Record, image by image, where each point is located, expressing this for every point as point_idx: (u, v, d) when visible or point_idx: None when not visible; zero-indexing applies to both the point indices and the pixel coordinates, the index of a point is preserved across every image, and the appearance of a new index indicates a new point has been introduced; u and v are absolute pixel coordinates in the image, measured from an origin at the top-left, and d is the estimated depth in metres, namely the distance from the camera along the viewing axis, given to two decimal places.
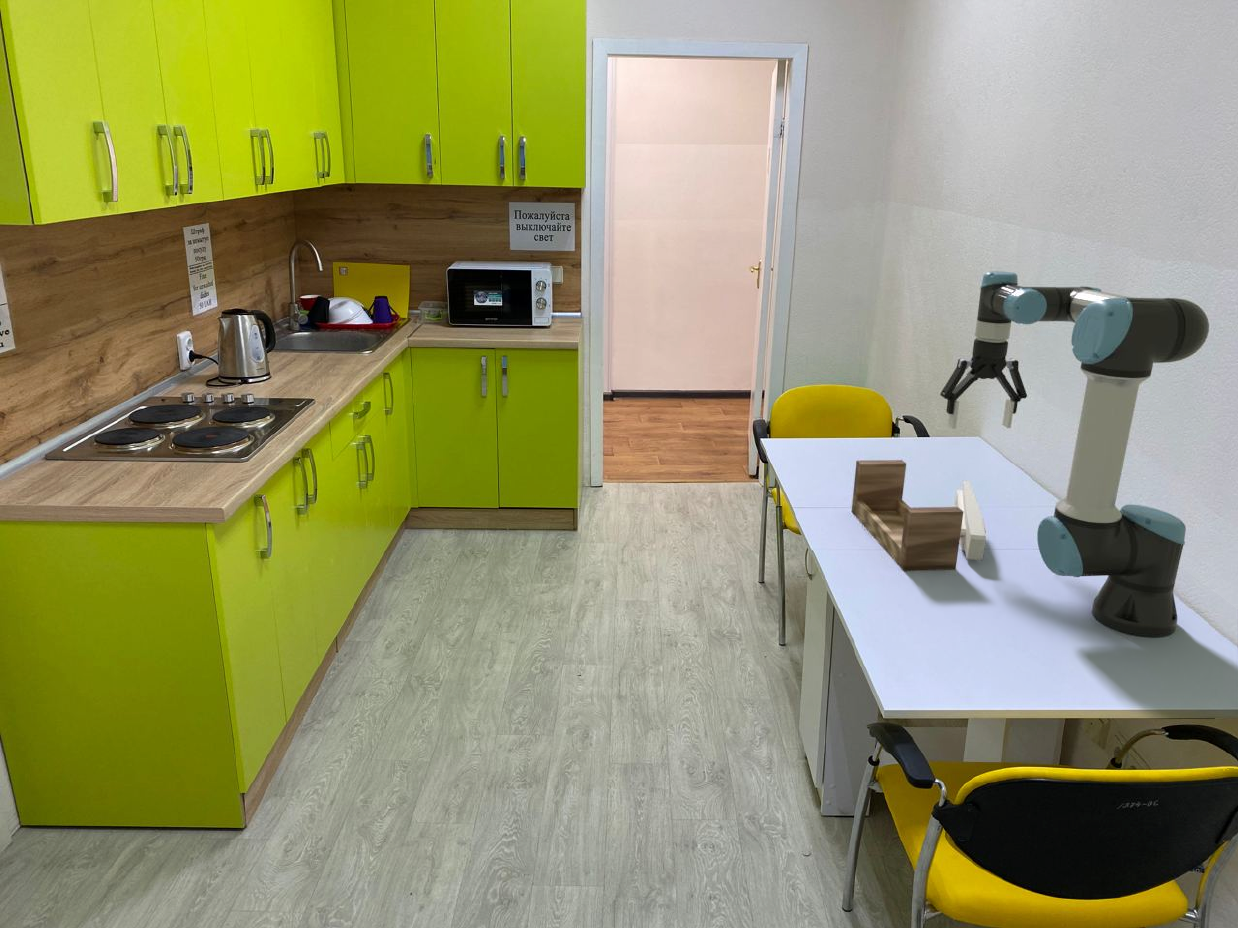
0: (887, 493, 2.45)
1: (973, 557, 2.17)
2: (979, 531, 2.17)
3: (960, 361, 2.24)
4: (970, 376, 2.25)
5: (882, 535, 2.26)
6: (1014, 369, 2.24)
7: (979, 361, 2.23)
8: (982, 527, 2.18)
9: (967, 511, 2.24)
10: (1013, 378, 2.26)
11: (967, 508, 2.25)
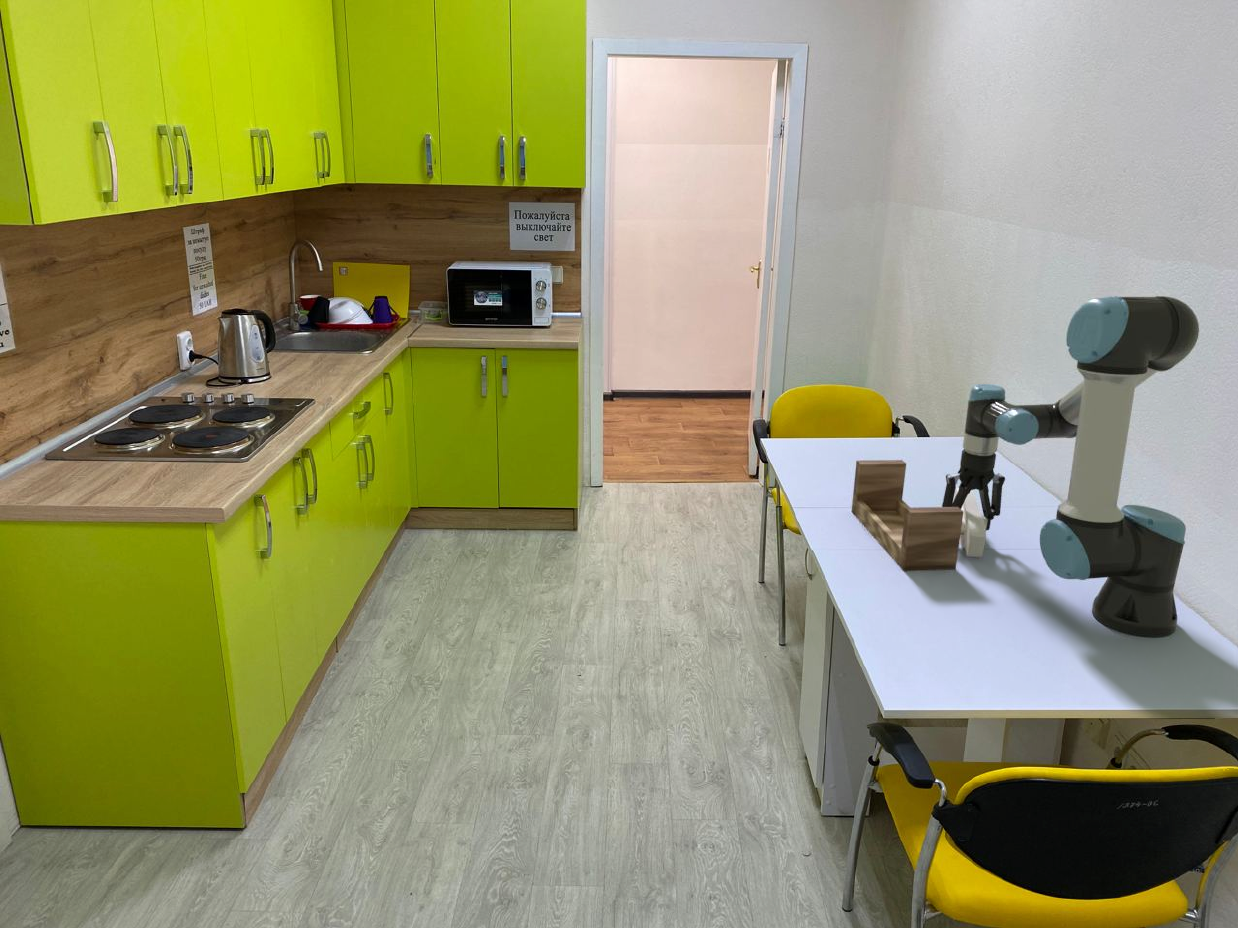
0: (887, 493, 2.45)
1: (973, 554, 2.19)
2: (979, 529, 2.18)
3: (947, 478, 2.24)
4: (962, 490, 2.24)
5: (882, 535, 2.26)
6: (998, 484, 2.24)
7: (966, 472, 2.22)
8: (982, 524, 2.19)
9: (967, 508, 2.25)
10: (993, 493, 2.26)
11: (967, 505, 2.26)
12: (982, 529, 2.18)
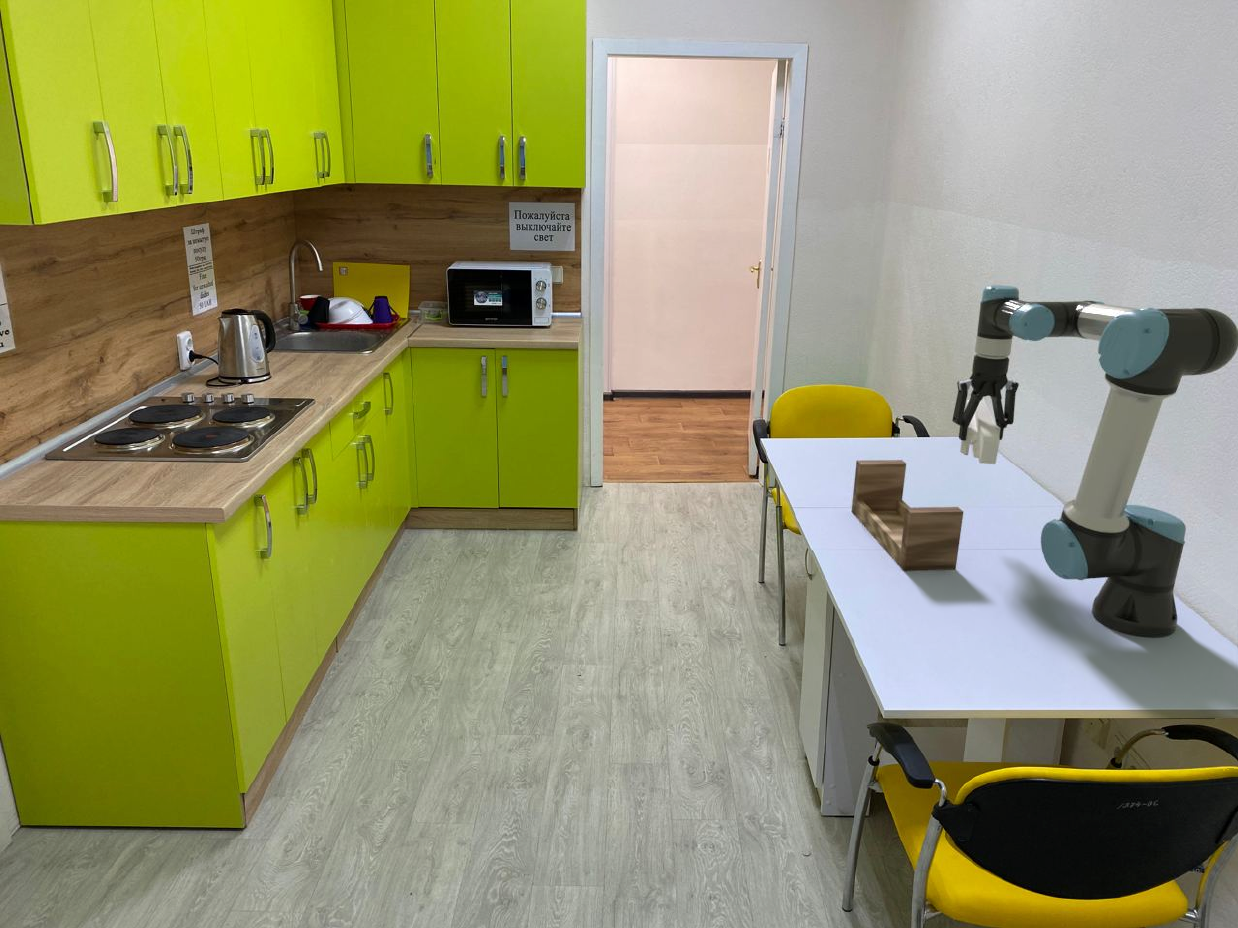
0: (887, 493, 2.45)
1: (986, 461, 2.11)
2: (992, 434, 2.11)
3: (959, 384, 2.17)
4: (974, 397, 2.17)
5: (882, 535, 2.26)
6: (1012, 391, 2.17)
7: (978, 378, 2.15)
8: (995, 430, 2.12)
9: (979, 416, 2.18)
10: (1006, 400, 2.19)
11: (979, 414, 2.19)
12: (995, 434, 2.10)
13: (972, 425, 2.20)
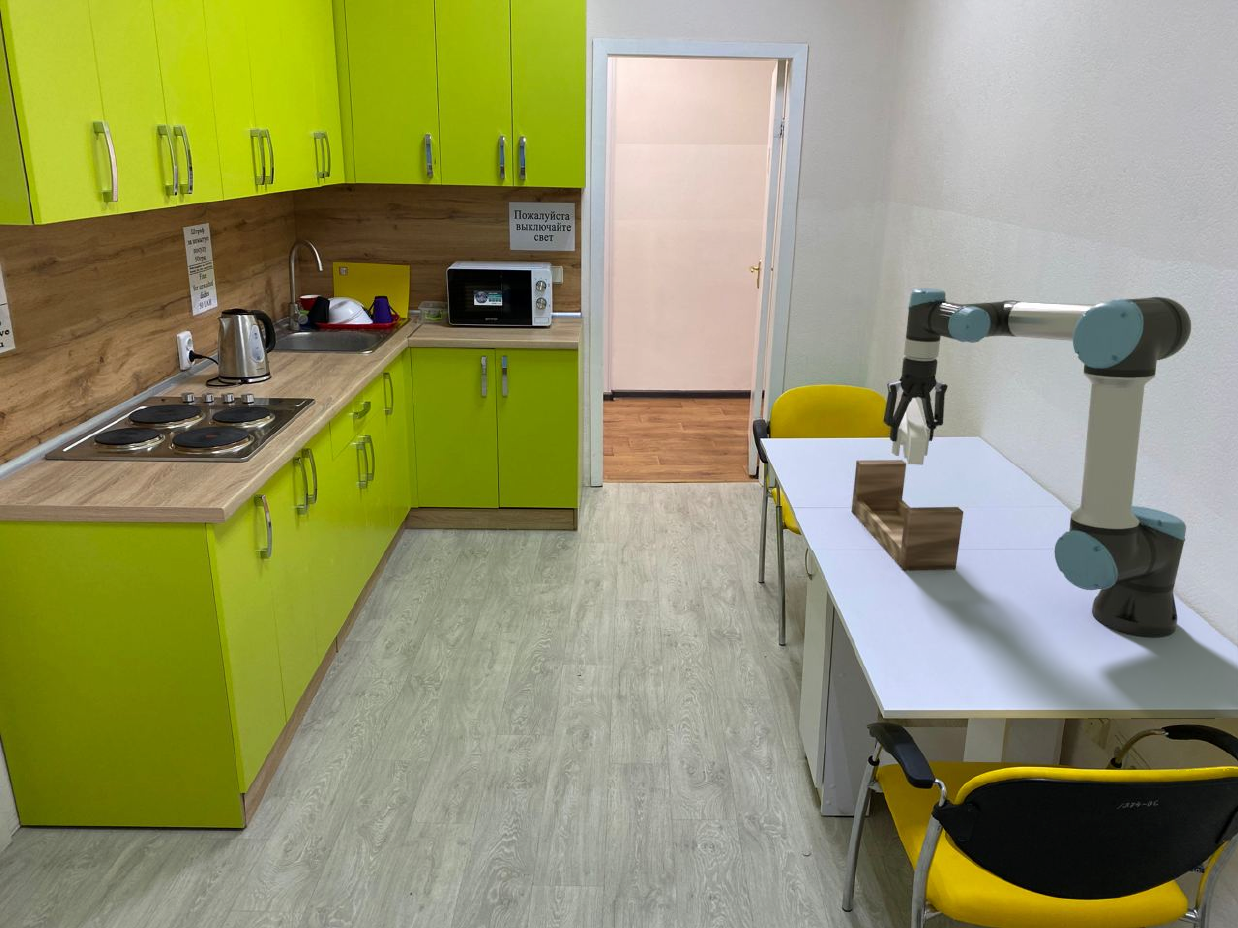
0: (887, 493, 2.45)
1: (914, 461, 2.14)
2: (920, 435, 2.14)
3: (889, 386, 2.19)
4: (904, 398, 2.20)
5: (882, 535, 2.26)
6: (941, 392, 2.20)
7: (907, 379, 2.18)
8: (923, 431, 2.15)
9: (909, 417, 2.21)
10: (936, 402, 2.22)
11: (909, 415, 2.22)
12: (923, 435, 2.13)
13: (902, 426, 2.23)
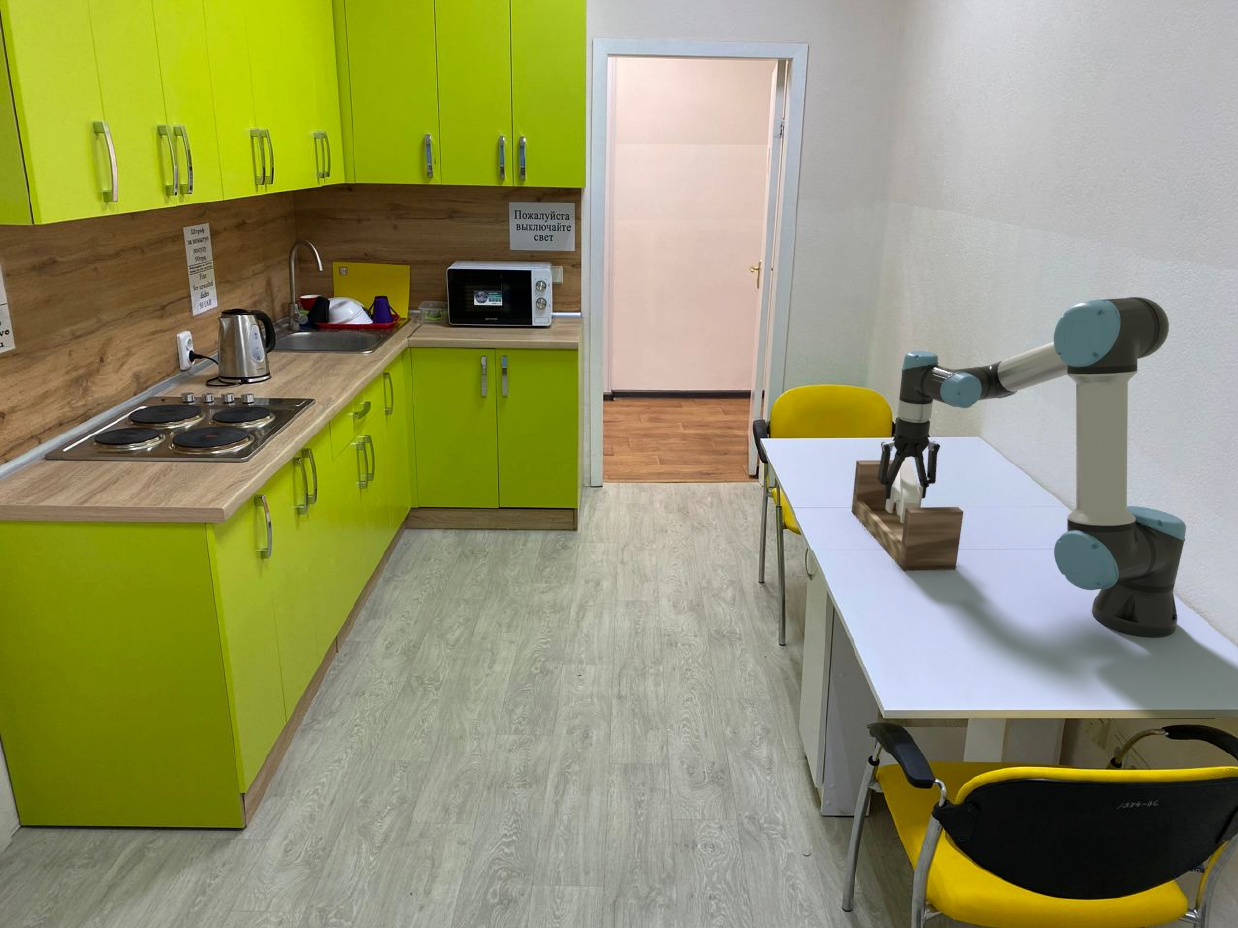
0: None
1: None
2: (913, 495, 2.18)
3: (882, 446, 2.24)
4: (897, 458, 2.25)
5: (882, 535, 2.26)
6: (933, 452, 2.24)
7: (900, 440, 2.23)
8: (916, 491, 2.20)
9: (902, 476, 2.26)
10: (929, 461, 2.26)
11: (902, 473, 2.27)
12: (915, 495, 2.18)
13: (896, 484, 2.27)
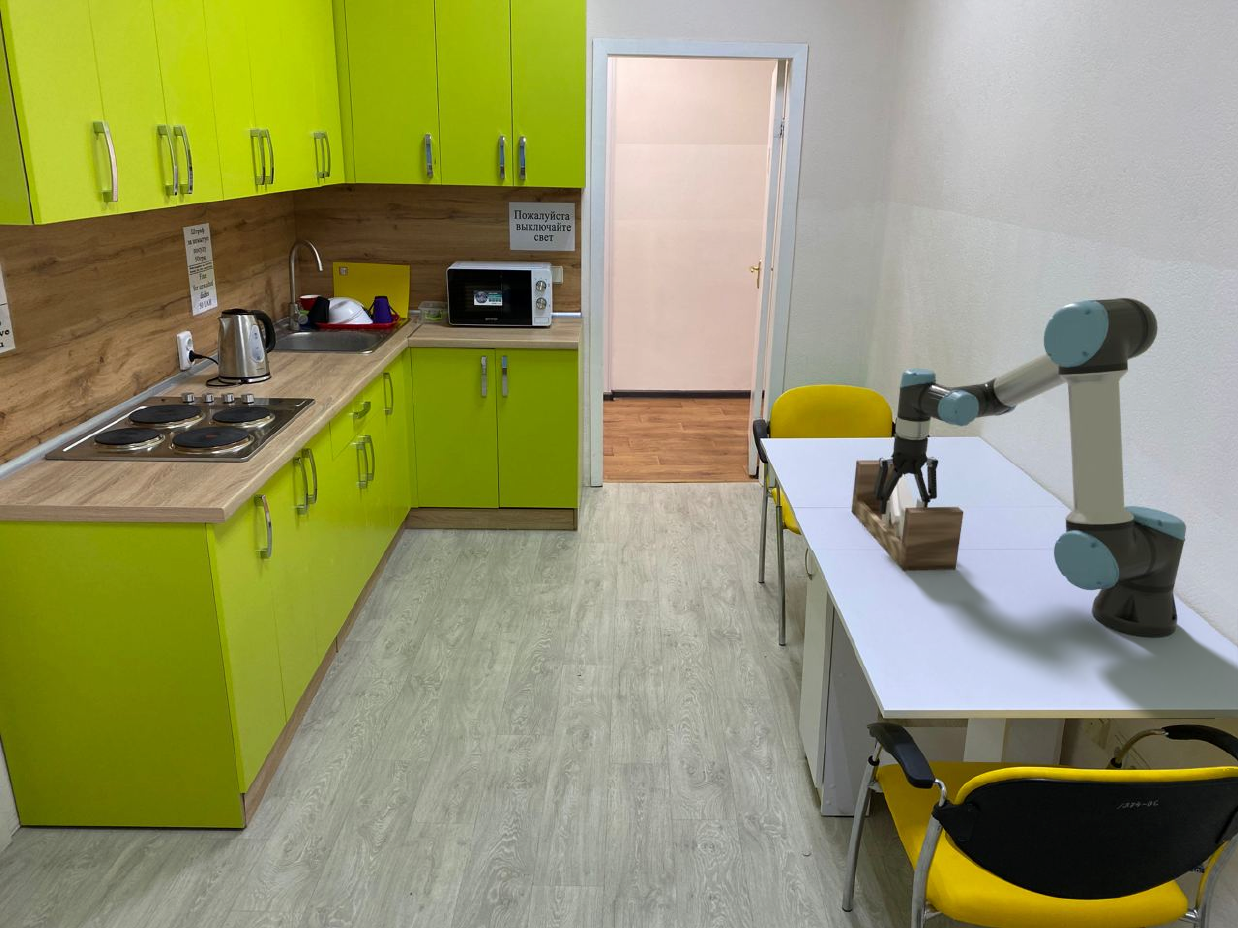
0: None
1: None
2: None
3: (880, 461, 2.25)
4: (895, 474, 2.26)
5: (882, 535, 2.26)
6: (932, 468, 2.25)
7: (899, 456, 2.24)
8: None
9: (900, 498, 2.28)
10: (929, 476, 2.28)
11: (900, 495, 2.29)
12: None
13: (894, 506, 2.29)
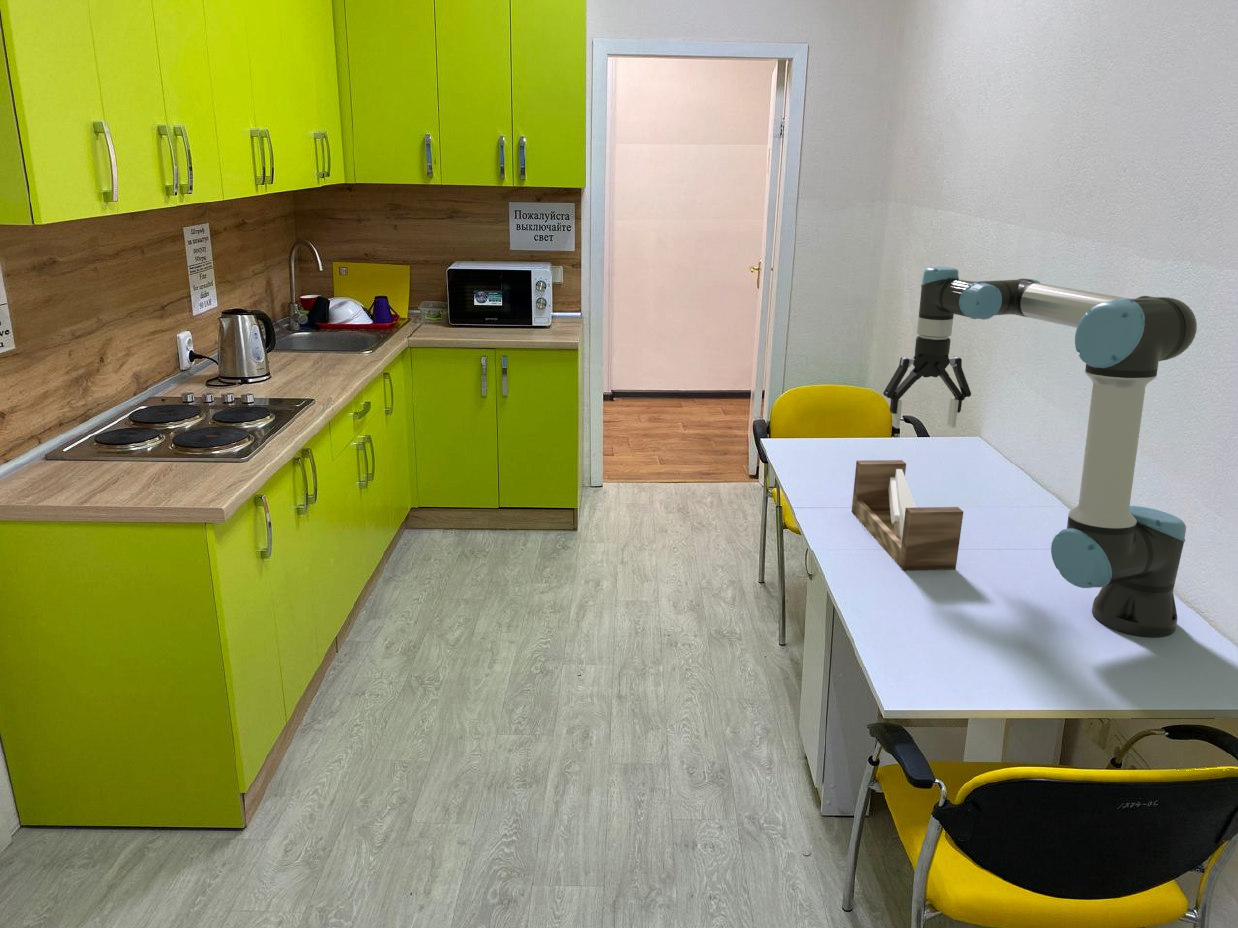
0: (887, 493, 2.45)
1: None
2: None
3: (902, 359, 2.18)
4: (913, 374, 2.19)
5: (882, 535, 2.26)
6: (957, 367, 2.19)
7: (921, 359, 2.18)
8: None
9: (900, 498, 2.28)
10: (957, 376, 2.21)
11: (900, 495, 2.29)
12: None
13: (894, 506, 2.30)
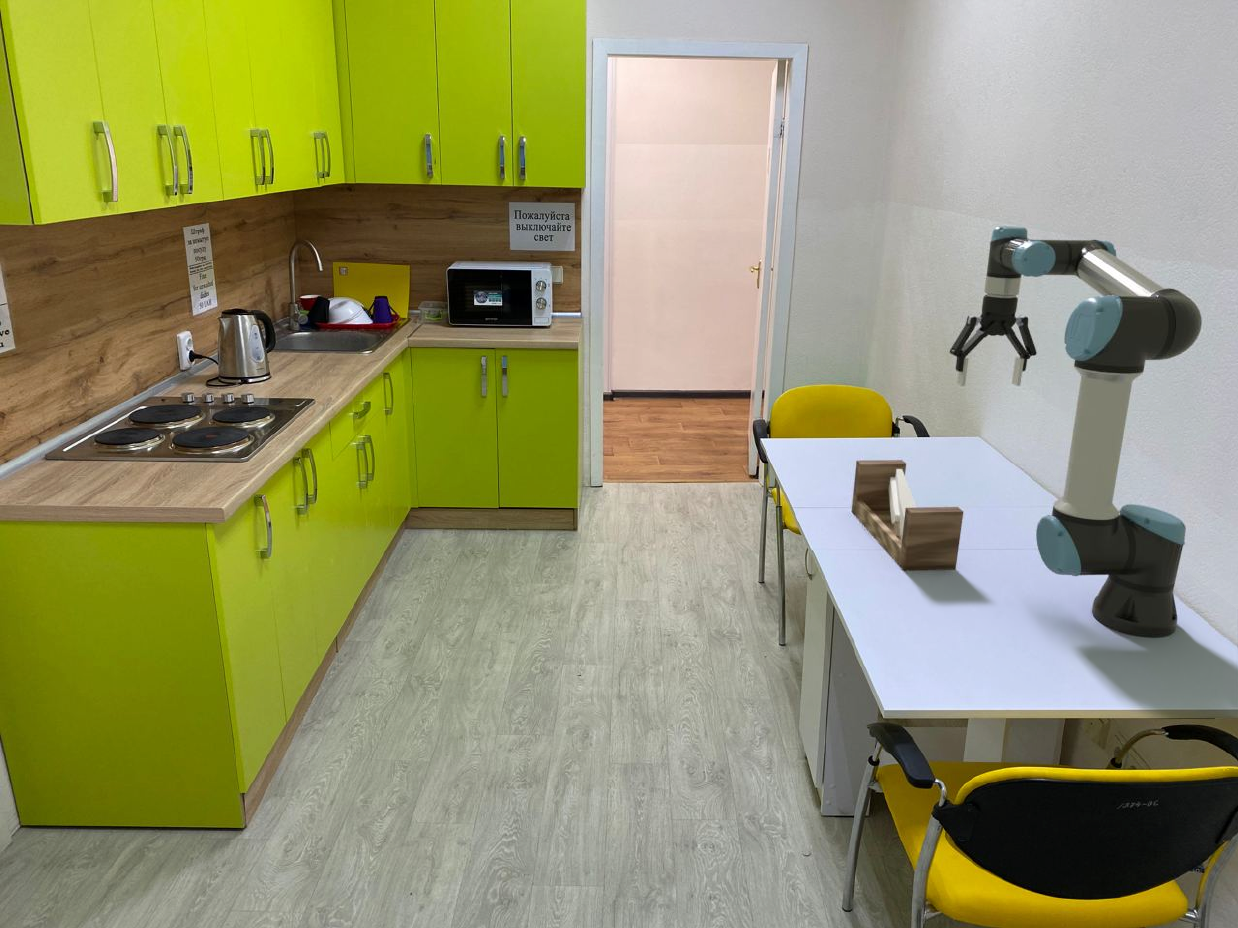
0: (887, 493, 2.45)
1: None
2: None
3: (969, 318, 2.22)
4: (980, 333, 2.23)
5: (882, 535, 2.26)
6: (1024, 326, 2.23)
7: (989, 317, 2.21)
8: None
9: (900, 498, 2.28)
10: (1023, 335, 2.25)
11: (900, 495, 2.29)
12: None
13: (894, 505, 2.30)
